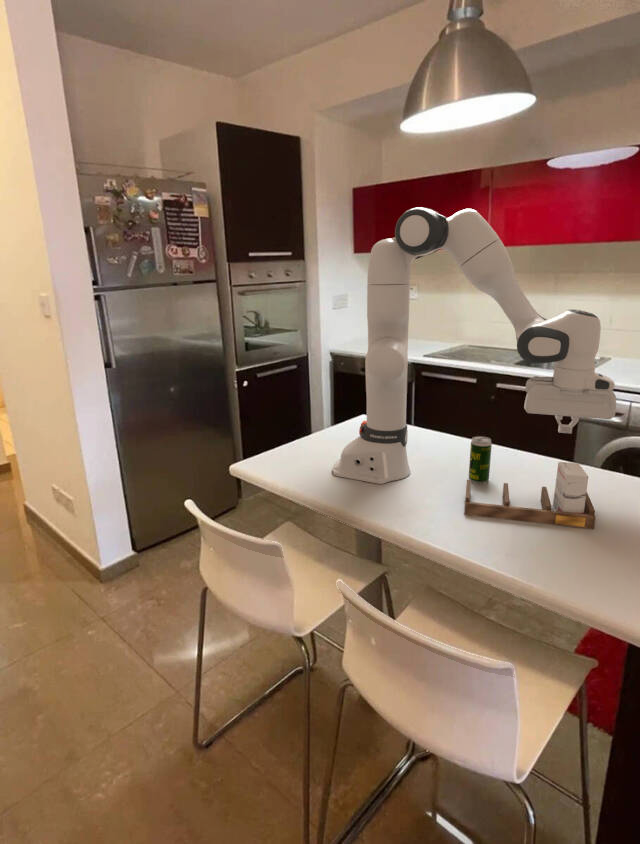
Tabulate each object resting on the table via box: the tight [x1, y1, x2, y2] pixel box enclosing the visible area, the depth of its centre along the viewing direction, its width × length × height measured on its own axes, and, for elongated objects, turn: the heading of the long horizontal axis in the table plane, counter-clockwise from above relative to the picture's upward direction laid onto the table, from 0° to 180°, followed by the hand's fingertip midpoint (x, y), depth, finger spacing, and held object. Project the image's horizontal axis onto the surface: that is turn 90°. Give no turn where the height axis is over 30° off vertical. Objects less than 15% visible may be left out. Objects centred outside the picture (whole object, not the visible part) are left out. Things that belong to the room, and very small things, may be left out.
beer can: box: [468, 436, 493, 485], centre depth 139 cm, size 5×5×12 cm
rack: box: [463, 478, 596, 530], centre depth 123 cm, size 28×12×4 cm, turn 73°
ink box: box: [552, 461, 589, 514], centre depth 120 cm, size 9×5×12 cm, turn 168°
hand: (564, 432), depth 128 cm, fingers closed
